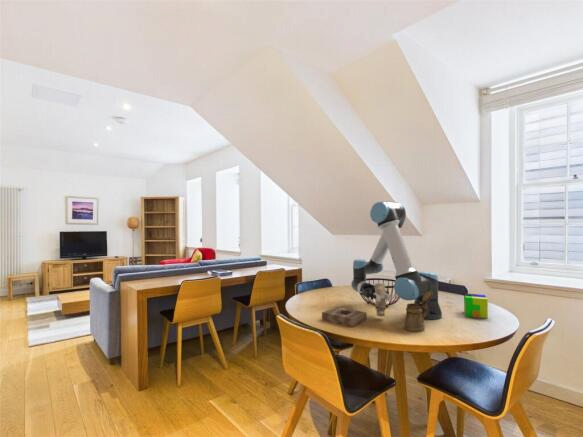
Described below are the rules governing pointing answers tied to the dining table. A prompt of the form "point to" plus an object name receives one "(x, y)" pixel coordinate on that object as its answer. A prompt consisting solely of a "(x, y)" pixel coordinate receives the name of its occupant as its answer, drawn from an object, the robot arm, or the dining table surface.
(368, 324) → the dining table surface
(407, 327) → the wooden mug
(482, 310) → the puzzle toy
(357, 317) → the walnut board
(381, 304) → the birch peg
